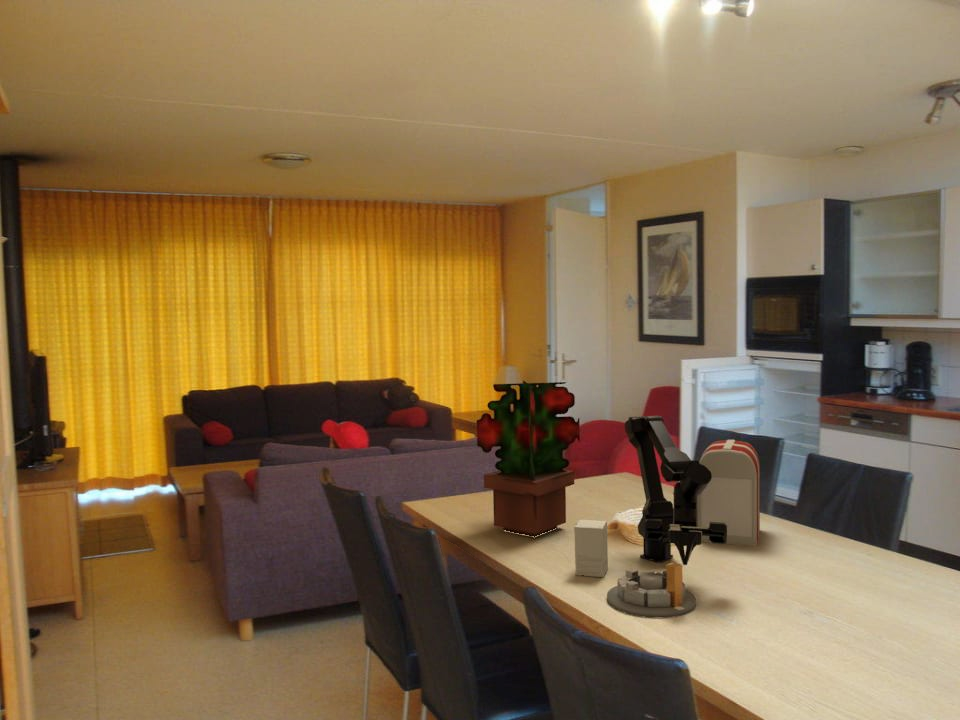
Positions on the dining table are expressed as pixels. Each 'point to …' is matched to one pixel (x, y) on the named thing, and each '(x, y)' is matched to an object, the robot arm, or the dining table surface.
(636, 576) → the grey stone ring wall
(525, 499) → the potted plant
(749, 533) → the red-striped tombstone block
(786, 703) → the dining table surface
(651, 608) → the grey stone circle model
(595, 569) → the supplement box
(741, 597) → the dining table surface
